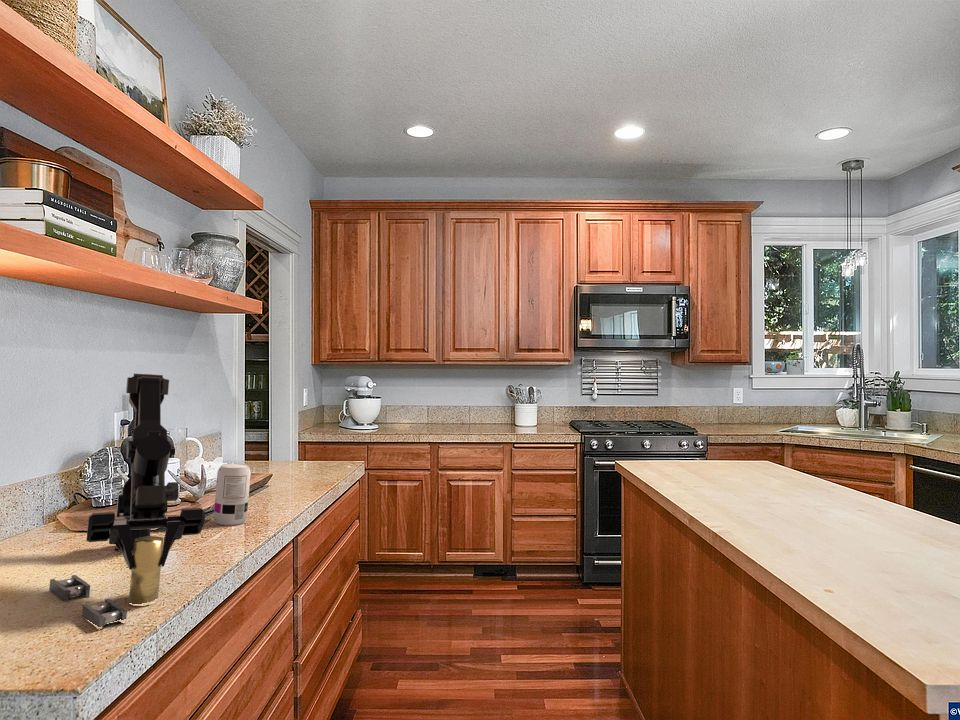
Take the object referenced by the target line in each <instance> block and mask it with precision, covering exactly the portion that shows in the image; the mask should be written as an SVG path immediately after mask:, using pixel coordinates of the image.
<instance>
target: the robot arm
mask: <svg viewBox="0 0 960 720" xmlns="http://www.w3.org/2000/svg"><path fill="white" fill-rule="evenodd" d="M169 386H170V379H168V378H164V376H163V374H151V373H133V376H131V377H130V376H128V377H127V379H126V386H125V387H126V390H125V392H126V394H128V402H129V405H130V406H131V408H132V409H133V412H135V415H134V416H135V417H134V429H132V434H131V436H132V437H131V440H128V441H127V446H126V459H127V460H129V459H130V460H129V462H130V464H131V472H130V477H129V478H128V479H127V480H126V481H125V483H124V484H123V486H122V490H121V494H118V495H117V503H116V510H115V511H109V512H108V511H107V512H106V511H105V512H104V511H103V512H92V513H91V514H90V515H89V516H88V521H87V530H86V531H87V532H86V541H87V542H89V543H94V542H107V541H108V543H109V545H115V547H114V548H113V549H114V551H115V552H116V551H117V552H118V551H119V552H120V553H121V555H122V557H123V559H124V561H125V564H126V565H127V567H128V570H130V571H131V570H132V568H133V547H134V540H135V539H137V538H140V537H145V536H151V531H152V530H153V529H165V533H164V537H163V549H162V560H161V568H163V567H165V564H166V562H167V560H168V556H169V554H170V553H169V552H170V551H171V549H172V547H173V545H174V544H175V542H176V540H180V539H182V537H183V536H194V535H199V534H201V533H202V530H203V527H204V523H205V521H206V512H205V510H204V509H203V508H202V507H189V508H188V507H187V508H186V507H185V508H181V510H180V513H179V515H176V516H175V515H173V516H166V513H167V512H168V502H175V501H177V500H178V499H179V495H180V494H179V493H180V491H179V490H180V487H179V486H180V485H179V481H177V482H176V481H175V482H173V481H172V482H171V481H170V482H167V484H166V483H165V482H166V480H165V479H166V478H165V477H166V476H165V474H166V471H167V469H168V464H169V460H170V459H171V458H172V457H173V456H175V455H176V447H174V446H173V444H172V442H171V441H170V440H169V438H168V430H167V429H166V428H165V427H164V426H163V425H162V423H161V422H162V421H161V419H162V418H161V406H162V404H163V401H164V399H165V396H168V395H169V388H170V387H169ZM122 514H123V515H122Z"/></svg>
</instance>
